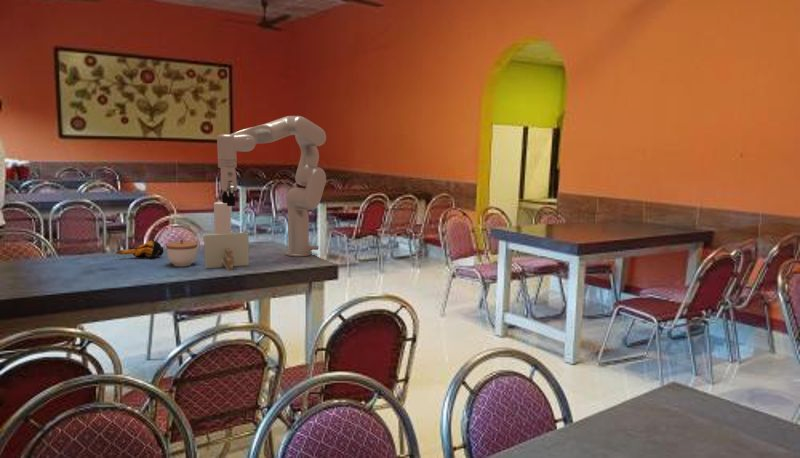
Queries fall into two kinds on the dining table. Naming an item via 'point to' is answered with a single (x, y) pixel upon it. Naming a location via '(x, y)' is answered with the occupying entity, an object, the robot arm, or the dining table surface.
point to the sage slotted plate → (220, 242)
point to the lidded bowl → (181, 252)
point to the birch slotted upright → (228, 259)
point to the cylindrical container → (222, 218)
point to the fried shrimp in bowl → (145, 250)
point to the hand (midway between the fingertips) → (228, 204)
